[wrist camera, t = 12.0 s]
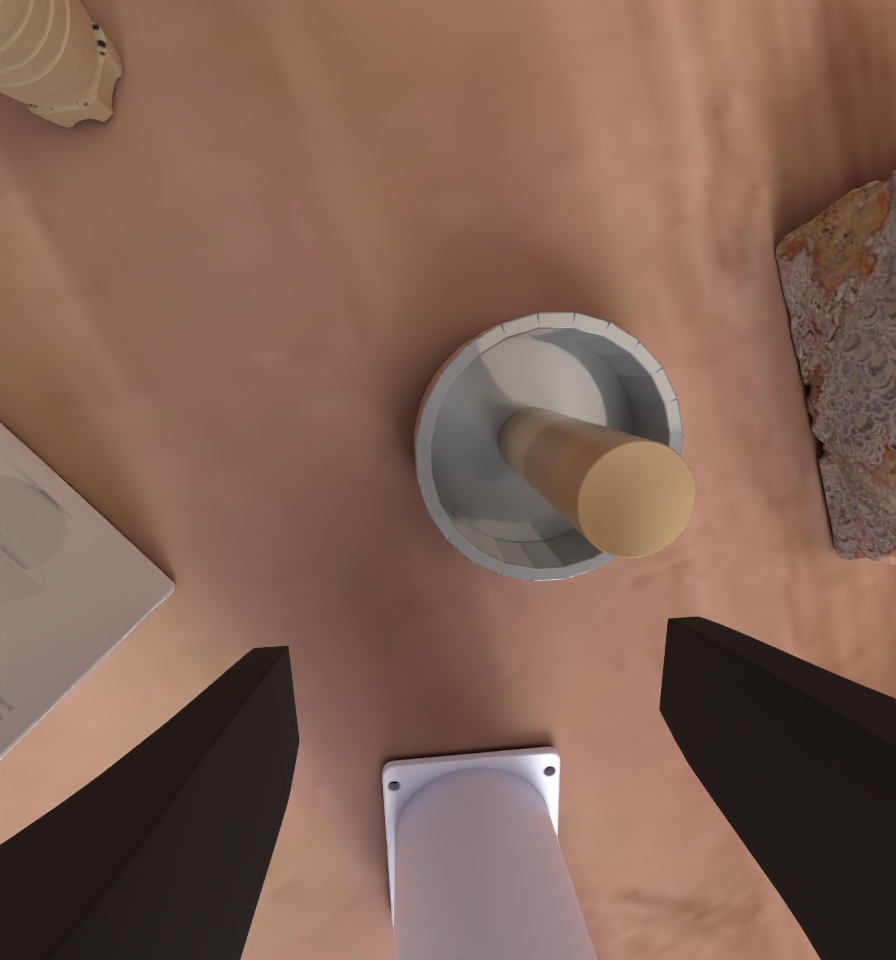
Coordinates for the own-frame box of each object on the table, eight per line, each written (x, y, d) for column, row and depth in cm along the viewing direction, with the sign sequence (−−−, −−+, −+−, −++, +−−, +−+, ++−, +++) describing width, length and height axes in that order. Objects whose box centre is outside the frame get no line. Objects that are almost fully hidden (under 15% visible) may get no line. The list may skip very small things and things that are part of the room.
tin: (632, 543, 20) (671, 573, 17) (418, 556, 19) (421, 589, 16) (648, 319, 18) (695, 309, 15) (409, 323, 17) (410, 313, 14)
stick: (578, 434, 18) (720, 487, 10) (537, 487, 19) (642, 580, 11) (527, 393, 18) (632, 414, 10) (485, 449, 18) (552, 515, 10)
